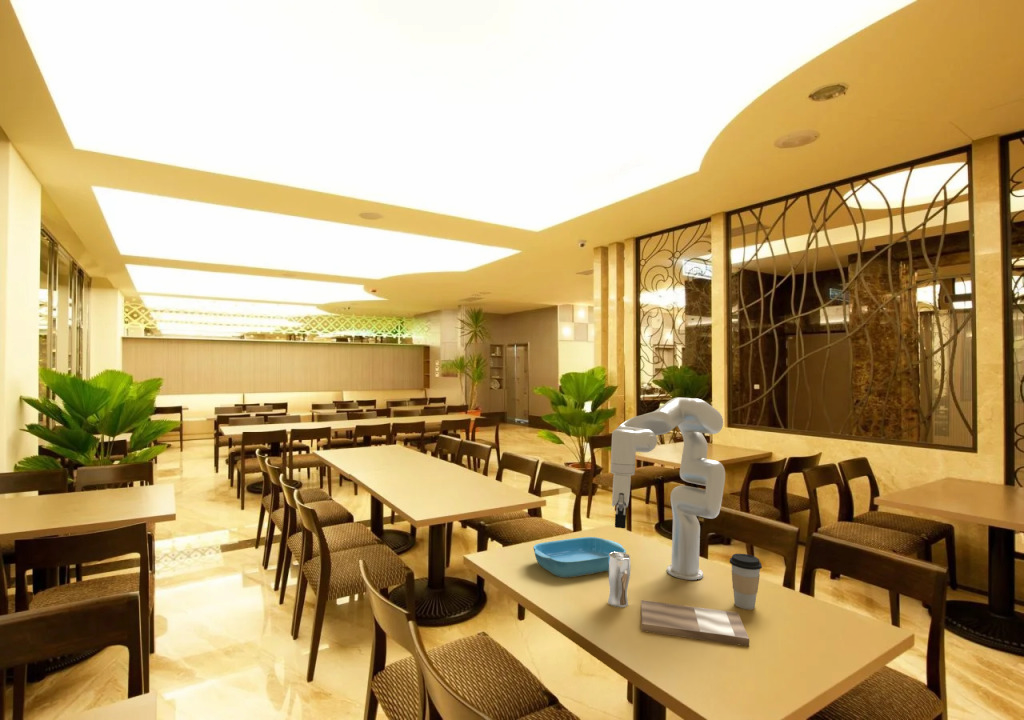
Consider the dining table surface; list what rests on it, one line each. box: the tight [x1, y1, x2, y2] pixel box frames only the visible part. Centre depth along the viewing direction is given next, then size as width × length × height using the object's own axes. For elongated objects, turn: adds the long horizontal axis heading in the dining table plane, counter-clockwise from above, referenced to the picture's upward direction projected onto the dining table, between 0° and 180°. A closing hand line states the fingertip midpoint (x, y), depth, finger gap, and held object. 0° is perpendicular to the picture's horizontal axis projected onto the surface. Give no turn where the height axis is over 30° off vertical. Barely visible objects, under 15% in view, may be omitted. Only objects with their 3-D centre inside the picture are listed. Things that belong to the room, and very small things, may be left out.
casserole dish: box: [533, 536, 627, 578], centre depth 196 cm, size 37×22×7 cm, turn 119°
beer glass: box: [607, 552, 631, 609], centre depth 165 cm, size 7×7×15 cm
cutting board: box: [640, 599, 750, 647], centre depth 152 cm, size 16×28×2 cm, turn 77°
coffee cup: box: [729, 553, 763, 610], centre depth 167 cm, size 9×9×15 cm
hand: (620, 523), depth 165 cm, fingers open, 9 cm apart
